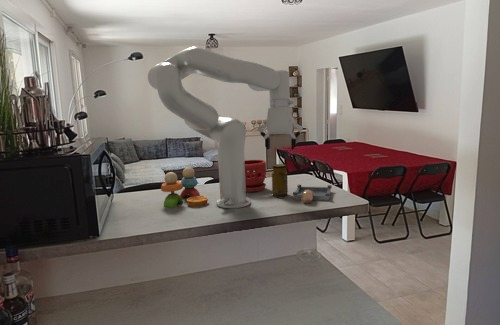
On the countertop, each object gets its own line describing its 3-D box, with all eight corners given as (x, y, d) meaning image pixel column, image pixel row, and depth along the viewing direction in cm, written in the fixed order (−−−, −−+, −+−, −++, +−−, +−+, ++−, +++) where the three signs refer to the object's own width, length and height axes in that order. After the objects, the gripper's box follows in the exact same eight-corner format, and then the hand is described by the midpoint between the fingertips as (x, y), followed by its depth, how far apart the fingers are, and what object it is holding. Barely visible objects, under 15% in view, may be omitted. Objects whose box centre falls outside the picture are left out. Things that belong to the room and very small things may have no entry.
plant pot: (268, 185, 168) (267, 158, 166) (265, 193, 155) (264, 164, 153) (238, 185, 170) (237, 158, 167) (233, 193, 157) (231, 164, 155)
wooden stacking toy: (203, 208, 138) (201, 174, 136) (158, 207, 141) (156, 174, 139) (217, 195, 155) (215, 165, 153) (177, 194, 159) (175, 165, 156)
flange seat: (328, 204, 136) (328, 193, 135) (290, 203, 140) (290, 192, 139) (331, 191, 153) (331, 181, 153) (297, 190, 157) (297, 181, 156)
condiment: (280, 191, 156) (279, 162, 154) (295, 195, 150) (295, 165, 148) (267, 195, 152) (266, 165, 150) (282, 199, 145) (281, 168, 143)
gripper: (303, 103, 146) (304, 147, 149) (259, 104, 151) (260, 147, 154) (301, 103, 139) (301, 150, 142) (255, 104, 143) (256, 150, 146)
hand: (280, 148), depth 148 cm, fingers open, 9 cm apart
